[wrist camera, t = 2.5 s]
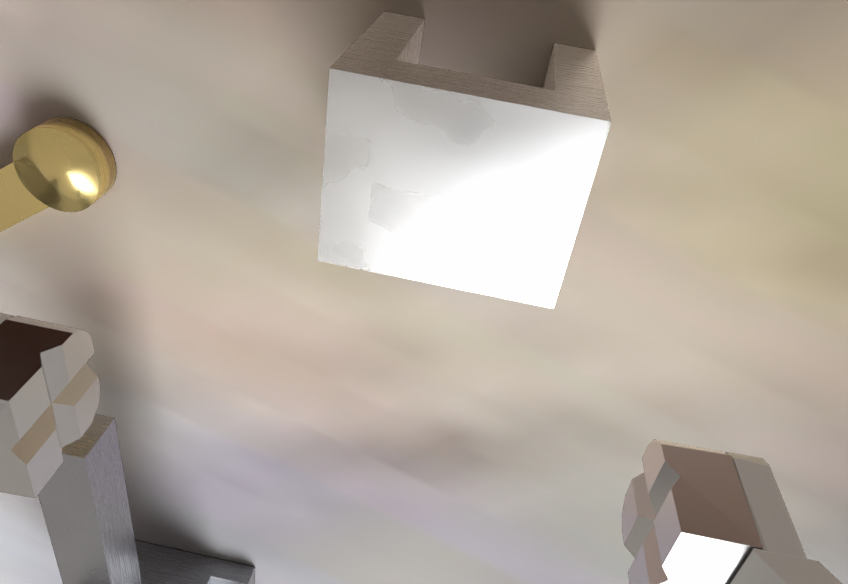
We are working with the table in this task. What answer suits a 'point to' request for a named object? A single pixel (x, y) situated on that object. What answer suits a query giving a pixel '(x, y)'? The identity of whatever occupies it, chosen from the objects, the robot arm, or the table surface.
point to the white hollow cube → (457, 166)
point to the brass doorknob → (55, 170)
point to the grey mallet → (113, 523)
